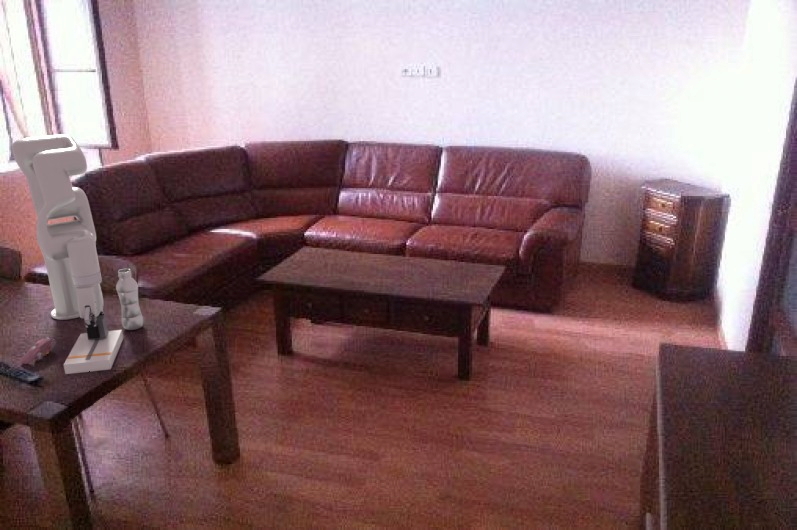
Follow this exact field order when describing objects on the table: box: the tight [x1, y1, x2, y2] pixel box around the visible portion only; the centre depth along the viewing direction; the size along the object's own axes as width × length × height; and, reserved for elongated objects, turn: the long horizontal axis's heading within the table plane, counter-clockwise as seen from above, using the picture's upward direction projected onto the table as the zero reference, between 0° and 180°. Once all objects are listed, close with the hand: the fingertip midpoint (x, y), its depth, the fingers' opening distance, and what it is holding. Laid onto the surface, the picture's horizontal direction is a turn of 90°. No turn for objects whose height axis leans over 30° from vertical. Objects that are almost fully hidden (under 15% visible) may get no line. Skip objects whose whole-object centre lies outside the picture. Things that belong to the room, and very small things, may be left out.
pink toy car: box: [20, 336, 57, 365], centre depth 190 cm, size 10×5×7 cm, turn 169°
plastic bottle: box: [115, 268, 144, 331], centre depth 205 cm, size 6×7×20 cm
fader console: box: [63, 329, 124, 375], centre depth 191 cm, size 20×12×3 cm, turn 12°
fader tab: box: [84, 314, 109, 340], centre depth 195 cm, size 4×5×6 cm
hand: (97, 331), depth 196 cm, fingers open, 7 cm apart
